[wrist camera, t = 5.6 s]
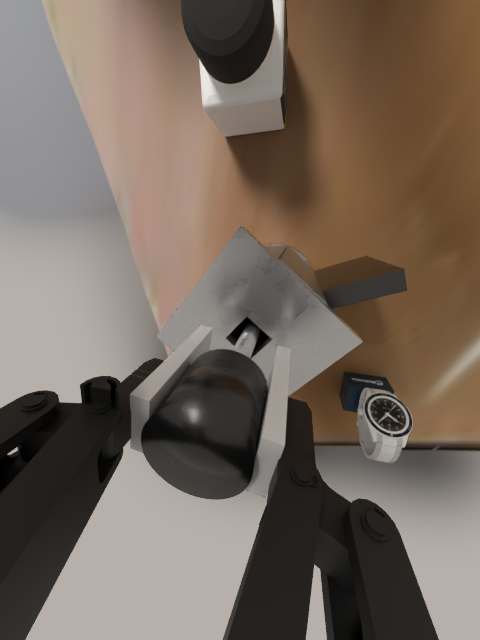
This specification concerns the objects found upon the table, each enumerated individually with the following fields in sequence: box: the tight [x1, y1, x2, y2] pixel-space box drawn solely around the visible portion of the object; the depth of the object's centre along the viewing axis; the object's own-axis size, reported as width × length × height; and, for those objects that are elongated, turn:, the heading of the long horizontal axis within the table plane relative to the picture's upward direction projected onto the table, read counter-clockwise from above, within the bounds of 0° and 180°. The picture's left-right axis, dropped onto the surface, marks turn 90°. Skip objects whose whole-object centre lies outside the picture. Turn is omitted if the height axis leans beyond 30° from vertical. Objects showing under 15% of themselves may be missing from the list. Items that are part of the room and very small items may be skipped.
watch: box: [340, 372, 413, 463], centre depth 29 cm, size 6×8×11 cm
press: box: [156, 227, 407, 396], centre depth 23 cm, size 16×12×17 cm
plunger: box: [141, 316, 268, 499], centre depth 18 cm, size 9×9×23 cm
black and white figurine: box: [181, 0, 288, 137], centre depth 20 cm, size 7×7×12 cm
